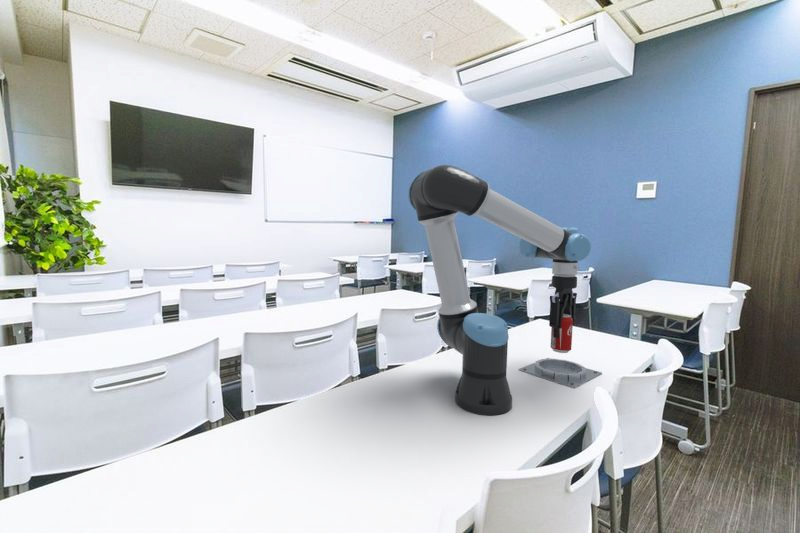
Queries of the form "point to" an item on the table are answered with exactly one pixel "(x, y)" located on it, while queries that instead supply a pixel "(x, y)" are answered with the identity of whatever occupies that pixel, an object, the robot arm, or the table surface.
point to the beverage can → (563, 336)
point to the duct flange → (561, 372)
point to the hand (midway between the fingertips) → (561, 345)
